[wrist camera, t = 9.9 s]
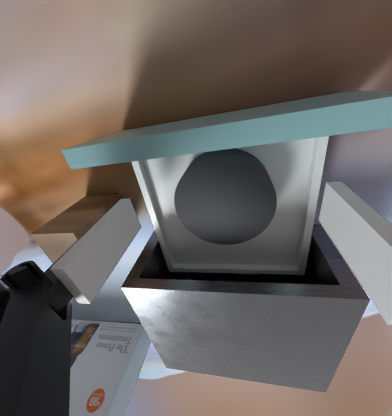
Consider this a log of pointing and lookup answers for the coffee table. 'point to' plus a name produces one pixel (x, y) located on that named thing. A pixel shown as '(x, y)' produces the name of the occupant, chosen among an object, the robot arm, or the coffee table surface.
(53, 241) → the walnut block
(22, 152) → the coffee table surface
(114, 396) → the skincare box
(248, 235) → the puck
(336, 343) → the player housing
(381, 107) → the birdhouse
